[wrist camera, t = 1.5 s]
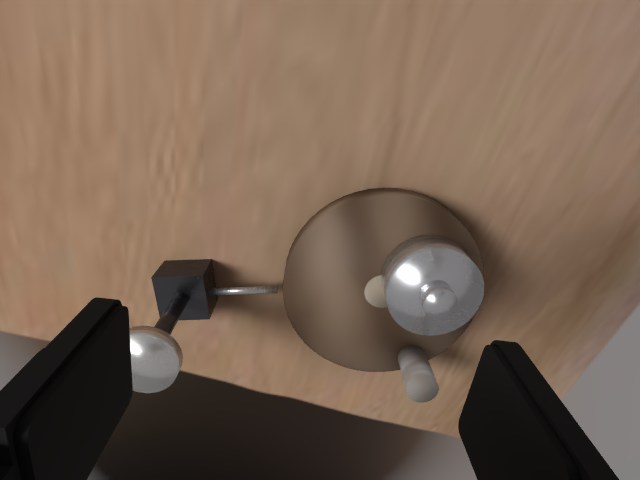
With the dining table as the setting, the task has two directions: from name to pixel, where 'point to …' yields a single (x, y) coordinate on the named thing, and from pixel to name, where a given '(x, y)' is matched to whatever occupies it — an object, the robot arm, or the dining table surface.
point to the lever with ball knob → (175, 319)
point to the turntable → (366, 283)
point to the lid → (431, 285)
